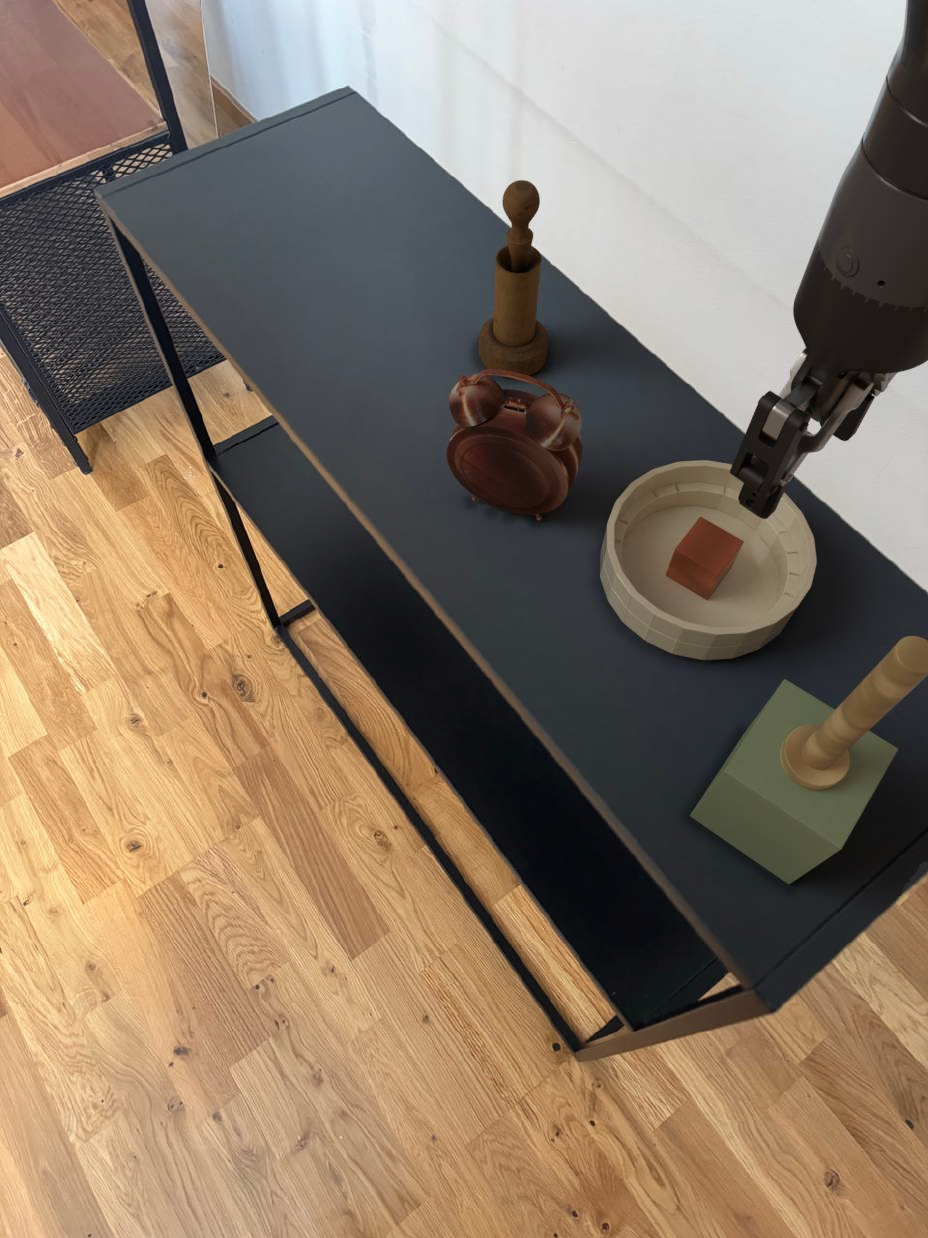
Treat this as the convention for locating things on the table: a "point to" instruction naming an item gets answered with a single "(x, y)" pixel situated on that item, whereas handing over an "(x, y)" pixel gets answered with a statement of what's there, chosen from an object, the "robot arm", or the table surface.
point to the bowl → (747, 596)
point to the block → (703, 558)
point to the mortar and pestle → (516, 292)
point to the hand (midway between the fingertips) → (796, 468)
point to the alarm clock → (514, 443)
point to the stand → (788, 791)
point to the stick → (853, 717)
